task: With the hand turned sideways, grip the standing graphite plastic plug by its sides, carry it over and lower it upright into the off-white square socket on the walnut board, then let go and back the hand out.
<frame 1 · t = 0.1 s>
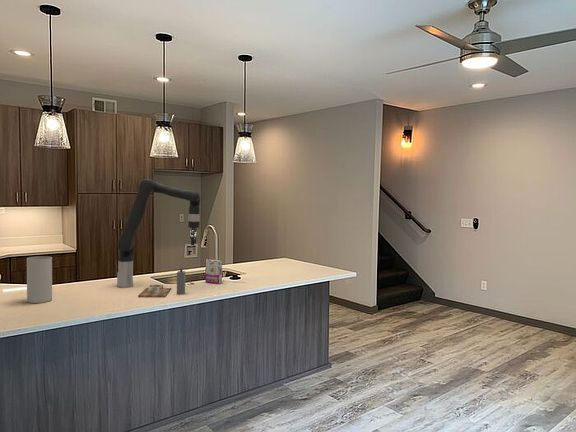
hand: (193, 244, 289), 29 cm above the table, tool pointing down, fingers open, 8 cm apart
candy bar box: (213, 283, 304), on the table
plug: (180, 293, 270), on the table
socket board: (155, 293, 269), on the table
cylinder vase: (39, 301, 244), on the table
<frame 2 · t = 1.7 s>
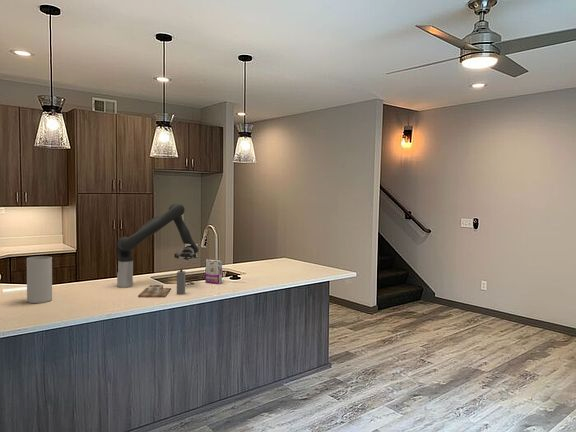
hand: (184, 257, 280), 22 cm above the table, tool horizontal, fingers open, 8 cm apart
nothing on the table moved.
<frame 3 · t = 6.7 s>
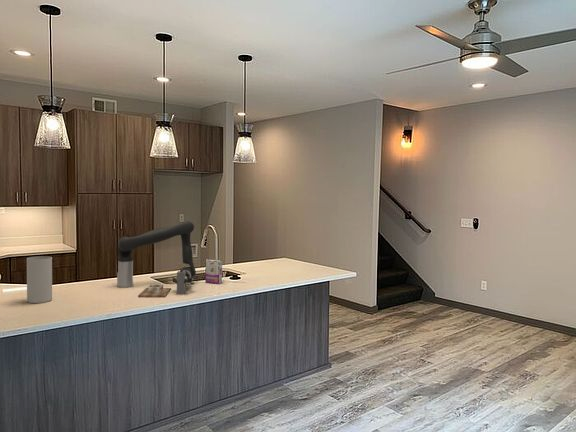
hand: (180, 282, 267), 8 cm above the table, tool horizontal, fingers closed on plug, 4 cm apart
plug: (181, 293, 270), on the table, touching gripper
everything else where it was.
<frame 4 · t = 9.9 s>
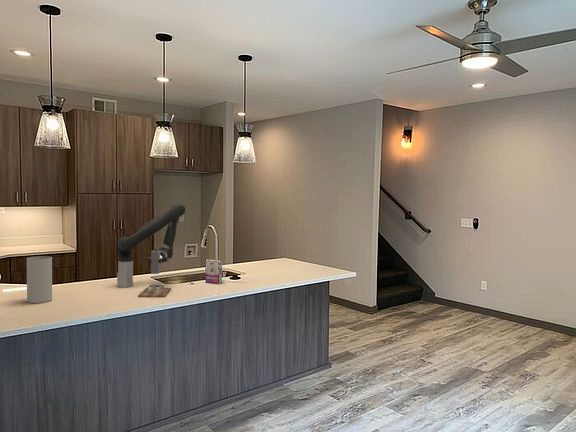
hand: (154, 261, 265), 21 cm above the table, tool horizontal, fingers closed on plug, 4 cm apart
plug: (155, 273, 268), point 13 cm above the table, touching gripper
everything else where it was.
when the fingers open (10 cm above the table, at t = 13.3 s): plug drops 1 cm, resting on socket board.
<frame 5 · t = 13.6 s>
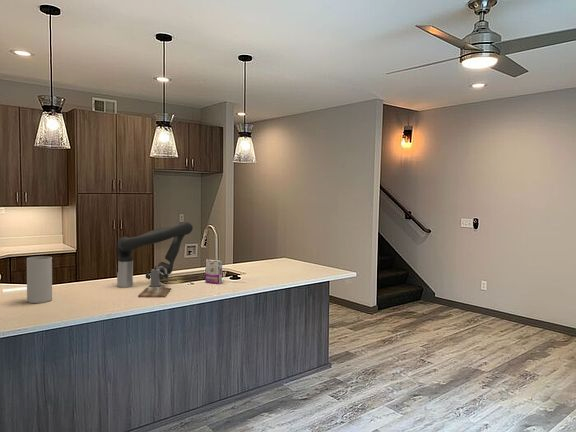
hand: (154, 277, 266), 11 cm above the table, tool horizontal, fingers open, 7 cm apart
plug: (155, 291, 269), point 1 cm above the table, touching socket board
everything else where it was.
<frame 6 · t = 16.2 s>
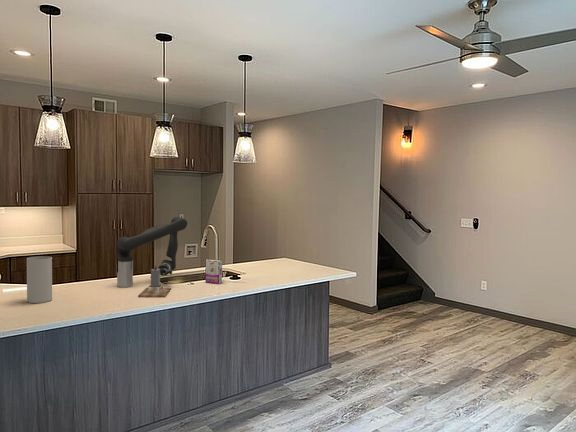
hand: (159, 273, 279), 10 cm above the table, tool horizontal, fingers open, 8 cm apart
nothing on the table moved.
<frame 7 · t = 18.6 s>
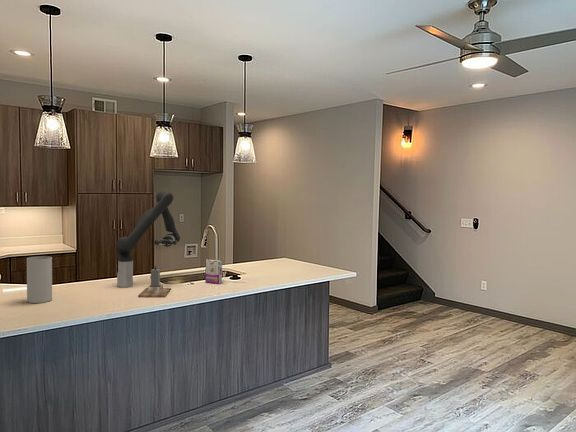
hand: (163, 243, 282), 30 cm above the table, tool horizontal, fingers open, 8 cm apart
nothing on the table moved.
at the end: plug 0.1 cm off-centre on the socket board, point 1.2 cm above the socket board's base; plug tilted 0°; the gripper is holding nothing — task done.
